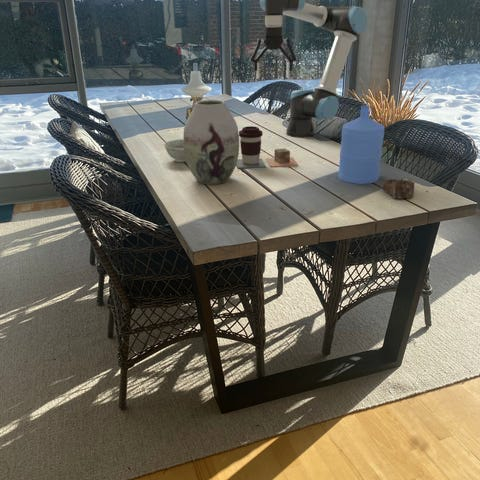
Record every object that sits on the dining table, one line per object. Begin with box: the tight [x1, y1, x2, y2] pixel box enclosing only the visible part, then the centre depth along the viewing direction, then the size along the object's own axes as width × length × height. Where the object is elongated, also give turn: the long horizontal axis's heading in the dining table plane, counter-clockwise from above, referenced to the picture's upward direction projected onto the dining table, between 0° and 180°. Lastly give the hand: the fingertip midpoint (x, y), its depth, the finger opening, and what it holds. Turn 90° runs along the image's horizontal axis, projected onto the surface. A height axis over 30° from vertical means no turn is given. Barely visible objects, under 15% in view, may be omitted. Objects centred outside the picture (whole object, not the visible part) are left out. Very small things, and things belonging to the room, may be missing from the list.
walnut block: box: [273, 148, 291, 164], centre depth 211 cm, size 5×5×5 cm
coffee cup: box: [238, 125, 264, 165], centre depth 208 cm, size 10×10×15 cm
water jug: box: [337, 105, 385, 185], centre depth 186 cm, size 16×16×28 cm
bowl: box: [163, 138, 187, 163], centre depth 217 cm, size 16×16×8 cm
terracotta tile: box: [266, 156, 299, 168], centre depth 212 cm, size 12×12×1 cm
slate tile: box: [236, 158, 267, 170], centre depth 211 cm, size 12×12×1 cm
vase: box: [182, 99, 240, 186], centre depth 186 cm, size 21×21×30 cm
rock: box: [382, 178, 415, 200], centre depth 173 cm, size 13×8×6 cm, turn 3°
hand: (272, 78), depth 219 cm, fingers open, 13 cm apart
